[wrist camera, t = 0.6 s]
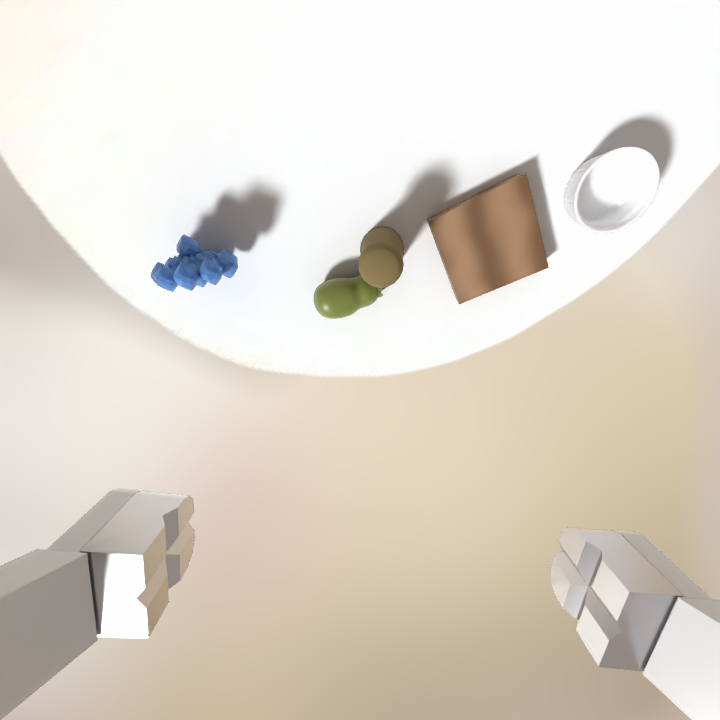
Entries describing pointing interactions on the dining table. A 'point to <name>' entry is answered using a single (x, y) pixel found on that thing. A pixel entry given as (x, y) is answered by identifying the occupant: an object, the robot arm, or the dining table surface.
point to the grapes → (194, 266)
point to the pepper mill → (381, 257)
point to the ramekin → (612, 189)
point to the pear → (344, 296)
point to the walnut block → (490, 239)
